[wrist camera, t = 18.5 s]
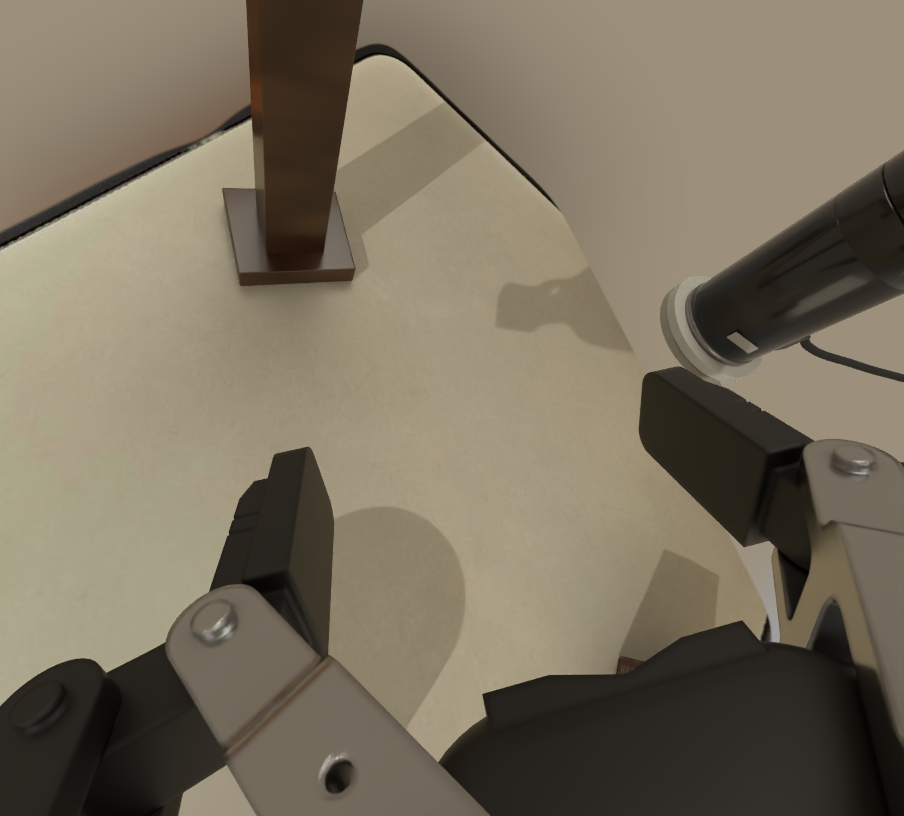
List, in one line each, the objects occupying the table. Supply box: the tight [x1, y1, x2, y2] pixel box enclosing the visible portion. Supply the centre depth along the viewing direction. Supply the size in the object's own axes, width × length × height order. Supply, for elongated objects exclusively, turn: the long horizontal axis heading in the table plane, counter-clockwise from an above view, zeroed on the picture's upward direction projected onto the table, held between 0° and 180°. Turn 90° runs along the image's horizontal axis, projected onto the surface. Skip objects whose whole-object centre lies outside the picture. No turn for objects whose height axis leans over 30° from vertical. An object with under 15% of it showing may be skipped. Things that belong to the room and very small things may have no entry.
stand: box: [222, 0, 363, 286], centre depth 20 cm, size 9×8×32 cm
